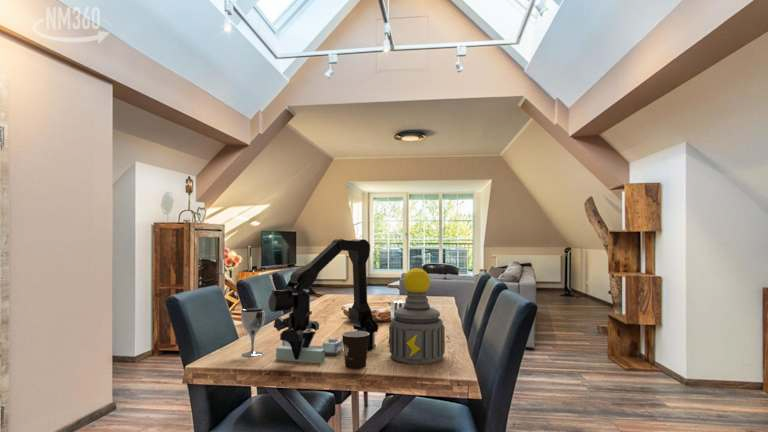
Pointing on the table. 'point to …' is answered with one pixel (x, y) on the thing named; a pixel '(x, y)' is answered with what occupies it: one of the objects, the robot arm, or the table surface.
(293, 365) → the table surface
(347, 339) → the coffee mug
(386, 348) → the table surface
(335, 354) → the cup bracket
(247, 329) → the wine glass
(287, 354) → the rail
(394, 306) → the beer glass
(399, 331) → the decorative lamp
